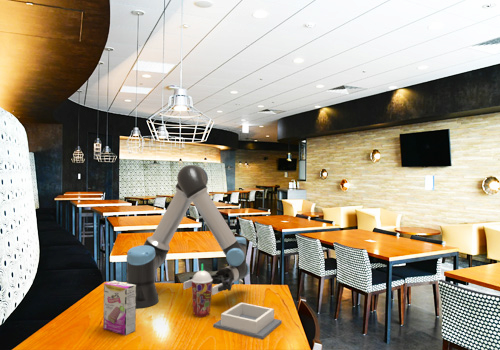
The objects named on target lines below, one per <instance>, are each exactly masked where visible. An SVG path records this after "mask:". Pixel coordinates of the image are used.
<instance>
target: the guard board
mask: <svg viewBox="0 0 500 350" xmlns="http://www.w3.org/2000/svg"><path fill="white" fill-rule="evenodd" d="M282 322H283V321H282V320H281V319H277V318H275V309H274V308H271V307H266V306H263V305H262V306H260V305H255V304H251V303H247V302H239V303H237V304H236V305H234V306H232V307H230V308H229V309H227V310H225V311H223V312H222V313H221V314H220V319H219V320H218V321H216V322H214V323H213V324H212V326H213V328H215V329H220V330H224V331H227V332H231V333H237V334H239V335H244V336H247V337H252V338H256V339H259V340H264V339H265V338H266V337H267V336H268V335H269V334H271V332H273V331H274V330H275V329H276V328H278V327H279V326H280V325H281V324H282Z"/></svg>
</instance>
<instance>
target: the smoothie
mask: <svg viewBox="0 0 500 350" xmlns="http://www.w3.org/2000/svg"><path fill="white" fill-rule="evenodd" d="M200 269H201V270H198V271H196V272H195V273H194V274H193V276H192V277H193V279H192V280H191V281H192V287H191V295H192V298H191V299H192V311H193V313H194V316H196V317H198V318H199V317H200V318H204V317H208V316H209V315H210V312H211V304H212V287H213V284H212V281H213V279H212V278H211V275H212V274H211V273H209V272H208V271H206V270H205V269H204V263H201V268H200Z"/></svg>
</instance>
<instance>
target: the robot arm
mask: <svg viewBox="0 0 500 350" xmlns="http://www.w3.org/2000/svg"><path fill="white" fill-rule="evenodd" d="M176 176H177V179H176V181H177V183H176V185H175V191H176V192H174V196H173V197H172V198H171V201H170V202H169V205H168V206H167V208H166V210H165V212H164V214H163V215H162V217H161V219H160V221H159V223H158V225H157V226H156V229H155V230H154V232H153V234H152V235H151V236H148V237H147V238H146V240H145V242H144V244H143V245H136V246H133V247H131V248H130V249H128V250H127V254H126V283H128V284H133V285H136V309H143V308H147V307H148V308H149V307H152V306H155V305H156V304H158V302H159V299H160V298H159V297H160V295H159V293H158V292H157V287H156V286H157V285H156V283H155V281H156V280H155V279H156V278H155V277H156V276H155V275H156V274H155V273H156V270H158V269H159V268H160V267H161V266H163V264H164V263H165V262H166V258H167V254H168V253H169V251H170V249H171V248H170V242H171V241H172V239H173V238H174V235H175V233H176V232H177V229H178V228H179V226H180V225H181V222H182V220H183V219H184V217H185V215H186V213H187V211H188V209H189V208H190V206H191V204H193V205H194V206H195V208H196V210H197V211H198V213H199V214H200V216H201V218H202V219H203V221H204V222H205V224H206V226H207V228H208V229H209V230H210V232H211V234H212V235H213V237H214V239H215V240H216V243H218V245H219V247H220V248H221V251H222V252H223V253H224V255H225V258H226V261H227V264H228V266H225V267H223V268H220V269H218V270H217V271H216V272H215V274H210V275H211V278H212V279H213V281H212V285H214V286H212V294H211V296H214V295H217V294H218V293H221V292H222V291H228V292H230V291H232V288H233V285H234V284H235V282H238V281H239V280H240V281H241V280H243V279H245V277H247V276H248V275H249V273H250V265H249V263H248V262H247V245H248V244H247V239H246V238H245V237H244V236H235V235H234V233H233V231H232V230H231V229H230V226H229V225H228V224H227V222H226V220H225V218H224V217H223V215H222V213H221V212H220V211H219V208H218V207H217V205H216V204H215V203H214V201H213V198H211V196H210V194H209V192H208V187H207V185H208V180H209V178H208V177H209V176H208V173H207V171H206V170H205V169H204V168H202V167H201V166H199V165H193V164H189V165H185V166H183V167H181V168H180V170H179V171H178V173H177V175H176ZM188 278H189V280H187V281H184V282H183V288H182V289H183V290H186V289H190V288H192V281H191V280H192V279H193V276H189V277H188Z"/></svg>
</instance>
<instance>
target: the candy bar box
mask: <svg viewBox="0 0 500 350" xmlns="http://www.w3.org/2000/svg"><path fill="white" fill-rule="evenodd" d="M136 311H137V308H136V285H133V284H128V283H127V282H123V281H118V280H111V281H107V282H105V283H103V328H102V329H103V330H107V331H108V332H109V331H110V332H112V333H116V334H119V335H123V336H128V335H130V334H131V333H134V332H136V319H137V318H136V314H137V313H136Z"/></svg>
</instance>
